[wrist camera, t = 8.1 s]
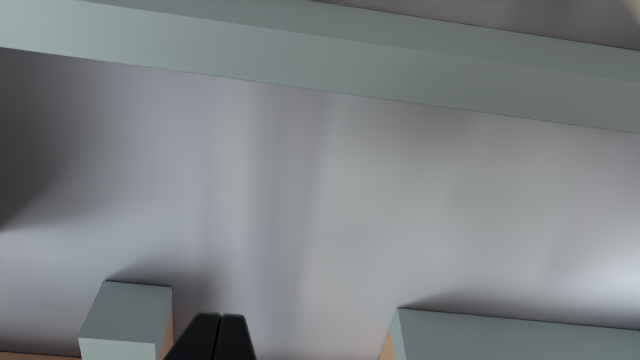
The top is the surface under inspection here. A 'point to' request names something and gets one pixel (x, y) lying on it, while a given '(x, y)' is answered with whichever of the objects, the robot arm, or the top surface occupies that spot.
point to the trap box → (355, 79)
